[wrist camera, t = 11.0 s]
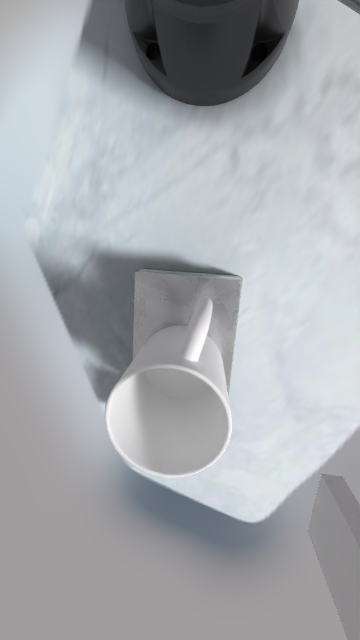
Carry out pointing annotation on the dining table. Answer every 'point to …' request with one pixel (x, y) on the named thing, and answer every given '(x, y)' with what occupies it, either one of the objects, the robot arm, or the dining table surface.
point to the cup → (172, 402)
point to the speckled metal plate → (185, 308)
